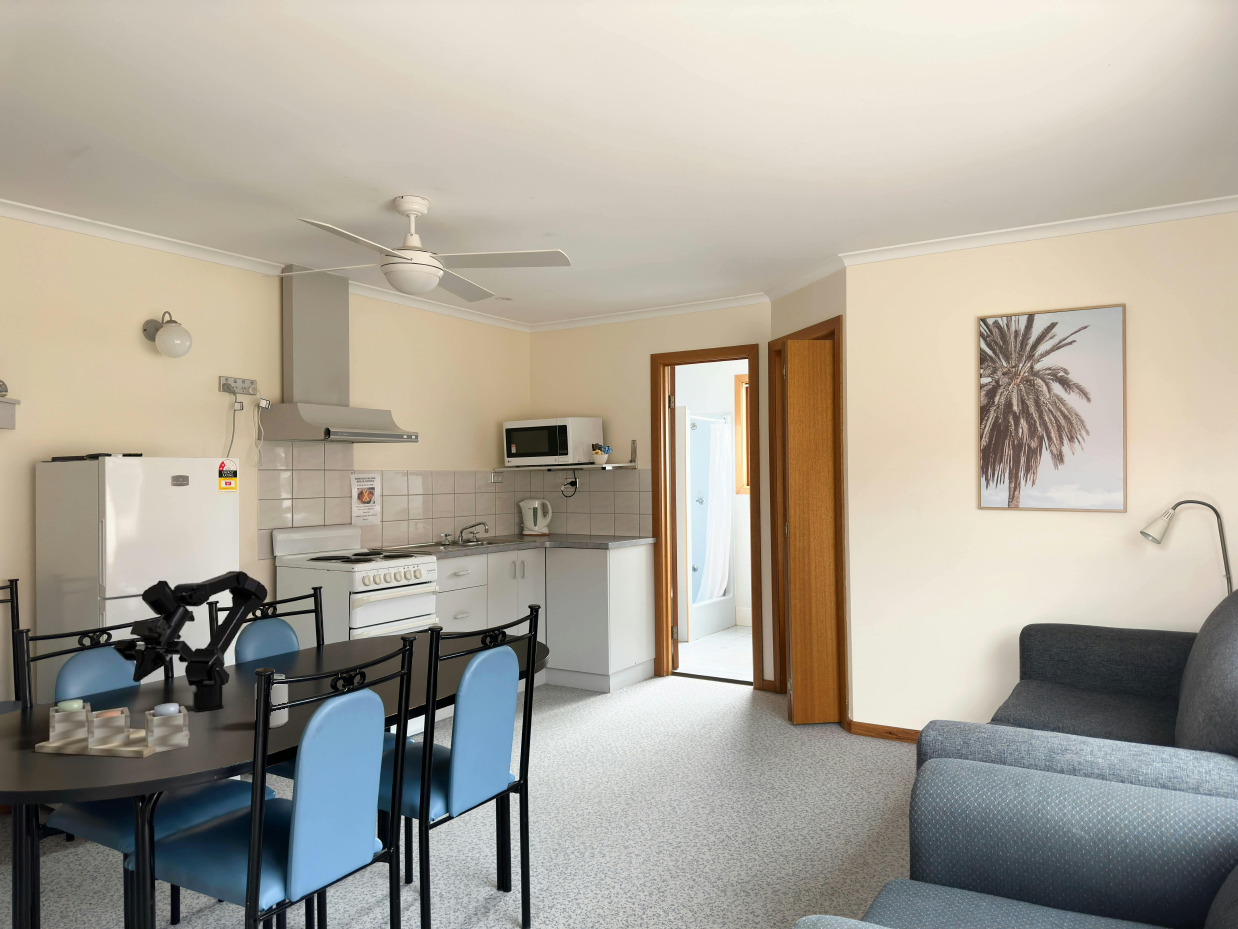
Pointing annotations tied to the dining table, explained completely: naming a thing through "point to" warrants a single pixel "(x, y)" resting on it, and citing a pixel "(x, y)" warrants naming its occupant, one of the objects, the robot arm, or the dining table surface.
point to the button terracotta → (108, 714)
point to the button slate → (166, 709)
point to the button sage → (70, 705)
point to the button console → (114, 733)
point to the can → (277, 702)
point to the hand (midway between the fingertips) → (135, 681)
